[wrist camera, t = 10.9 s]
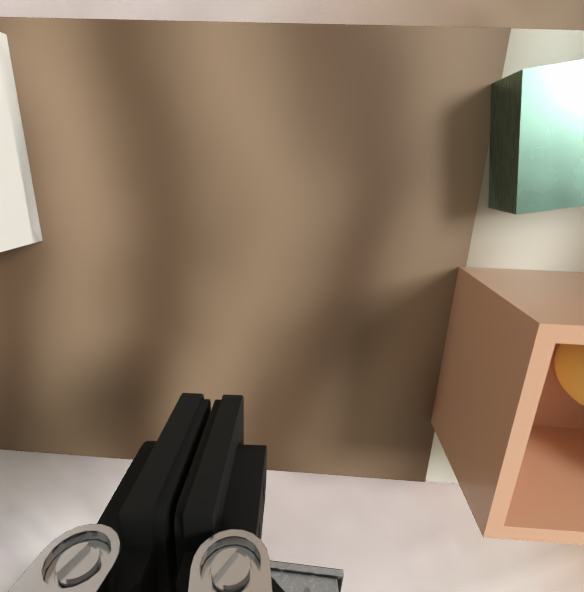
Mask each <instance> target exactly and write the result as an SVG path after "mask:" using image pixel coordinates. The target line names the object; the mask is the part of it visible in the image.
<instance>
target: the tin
mask: <svg viewBox="0 0 584 592" xmlns="http://www.w3.org/2000/svg"><path fill="white" fill-rule="evenodd" d="M580 206H584V59H583V60H577V61H571V62H564V63H558V64H552V65H546V66H540V67H533V68H527V69H522V70H520V71H518V72H516V73H513V74H511V75H509V76H507V77H505V78H503V79H500V80H498V81H496V82H494V83H492V84H491V116H490V160H489V204H488V208H491V209H495V210H499V211H503V212H507V213H512V214H516V215H517V214H525V213H533V212H541V211H549V210H557V209H565V208H572V207H580Z"/></svg>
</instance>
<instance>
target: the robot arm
mask: <svg viewBox="0 0 584 592" xmlns="http://www.w3.org/2000/svg"><path fill="white" fill-rule="evenodd" d="M266 470H267V445H244V397H243V395H225V394H224V395H223V396H222V399H221V400H218V399H216V400H215V401H214V404H213V407H212V409H211V401H210V399H204V395H203V394H200V393H182V394H181V396H180V398H179V400H178V402H177V404H176V405H175V407H174V409H173V411H172V413H171V415H170V417H169V419H168V421H167V423H166V425H165V426H164V428H163V430H162V432H161V434H160V436H159V438H158V440H157V441H146V442H144V443H143V445H142V446H141V447H140V449H139V451H138V453H137V454H136V456H135V458H134V460H133V461H132V463H131V465H130V467H129V468H128V470H127V472H126V474H125V475H124V477H123V479H122V481H121V482H120V484H119V486H118V488H117V489H116V491H115V493H114V495H113V496H112V498H111V500H110V502H109V503H108V505H107V507H106V509H105V510H104V512H103V514H102V516H101V517H100V519H99V521H98V523H97V524H88V525H83V526H79V527H76V528H74V529H72V530H69V531H67V532H65V533H64V534H62V535H61V536H59V537H58V538H56V539H55V540H53V541H52V542H51V543H50V544H49V545H48V546H47V547H46V548H45V549H44V550H43V551H42V552H41V553H40V555H39V556H38V557H37V558H36V559H35V560H34V562H33V563H32V564H31V565H30V566H29V568H28V569H27V570H26V571H25V572H24V574H23V575H22V576H21V577H20V578H19V580H18V581H17V582H16V583H15V584H14V585H13V587H12V588H11V589H10V590H9V591H8V592H285V591H284V590H283V589H282V588H281V587H280V586H279V585H278V583H277V582H276V581H275V580H274V579H273V578H272V577H271V571H270V559H269V555H268V552H267V548H266V547H265V545H264V544H263V542H262V541H261V534H262V523H263V513H264V503H265V490H266Z"/></svg>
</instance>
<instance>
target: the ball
mask: <svg viewBox="0 0 584 592" xmlns="http://www.w3.org/2000/svg"><path fill="white" fill-rule="evenodd" d="M555 372H556V375H557V378H558V380H559V382H560V384H561V386H562V387H563V388H564V390H565V391H566V392H567V393H568V394H569V395H570V396H571V397H572V398H573V399H574V400H575V401H577V402H578V403H580V404H581V405H583V406H584V345H579V344H560V345H559V347H558V349H557V352H556V355H555Z"/></svg>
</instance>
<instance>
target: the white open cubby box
mask: <svg viewBox="0 0 584 592" xmlns="http://www.w3.org/2000/svg"><path fill="white" fill-rule="evenodd" d="M39 241H43V240H42V235H41V229H40V223H39V218H38V212H37V206H36V201H35V195H34V189H33V183H32V178H31V172H30V166H29V161H28V155H27V149H26V144H25V138H24V132H23V127H22V121H21V115H20V109H19V104H18V98H17V92H16V87H15V81H14V75H13V70H12V64H11V58H10V52H9V47H8V41H7V35H6V34H4V33H1V32H0V252H3V251H7V250H10V249H14V248H18V247H21V246H25V245H29V244H32V243H36V242H39Z"/></svg>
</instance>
